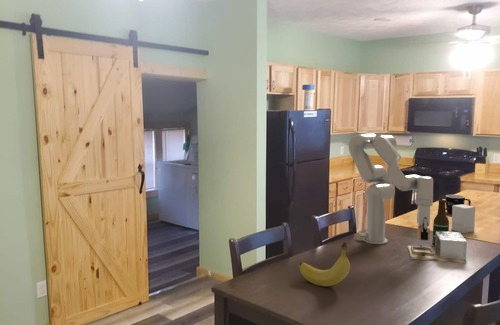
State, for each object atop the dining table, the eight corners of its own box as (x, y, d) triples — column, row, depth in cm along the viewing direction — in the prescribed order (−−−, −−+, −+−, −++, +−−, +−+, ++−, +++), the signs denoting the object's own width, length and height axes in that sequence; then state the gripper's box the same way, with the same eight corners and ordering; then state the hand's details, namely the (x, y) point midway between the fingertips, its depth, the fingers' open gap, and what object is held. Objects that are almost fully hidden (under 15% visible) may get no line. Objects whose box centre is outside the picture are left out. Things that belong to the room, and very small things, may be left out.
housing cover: (440, 257, 196) (441, 239, 195) (435, 247, 211) (435, 230, 210) (465, 260, 193) (466, 241, 192) (459, 249, 208) (459, 232, 207)
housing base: (410, 258, 199) (411, 253, 199) (407, 247, 216) (407, 242, 216) (466, 263, 192) (466, 257, 192) (458, 251, 209) (458, 246, 209)
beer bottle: (450, 247, 216) (452, 201, 214) (434, 246, 218) (436, 201, 215) (446, 242, 224) (448, 198, 221) (430, 241, 225) (432, 198, 223)
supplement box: (474, 231, 244) (476, 206, 243) (463, 233, 241) (464, 208, 239) (461, 228, 253) (463, 203, 251) (450, 229, 249) (451, 205, 248)
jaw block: (418, 239, 203) (419, 227, 202) (417, 237, 208) (417, 225, 207) (429, 240, 202) (430, 228, 201) (428, 237, 206) (428, 225, 206)
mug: (436, 211, 298) (437, 194, 296) (454, 209, 302) (455, 193, 301) (454, 216, 282) (454, 199, 281) (472, 214, 287) (473, 197, 286)
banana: (295, 280, 173) (295, 233, 171) (303, 276, 178) (303, 230, 175) (345, 295, 159) (346, 244, 156) (352, 290, 163) (353, 240, 161)
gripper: (414, 198, 212) (413, 233, 214) (418, 204, 196) (417, 242, 198) (430, 198, 210) (429, 234, 212) (435, 205, 194) (434, 243, 195)
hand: (423, 237), depth 205 cm, fingers closed on jaw block, 5 cm apart
